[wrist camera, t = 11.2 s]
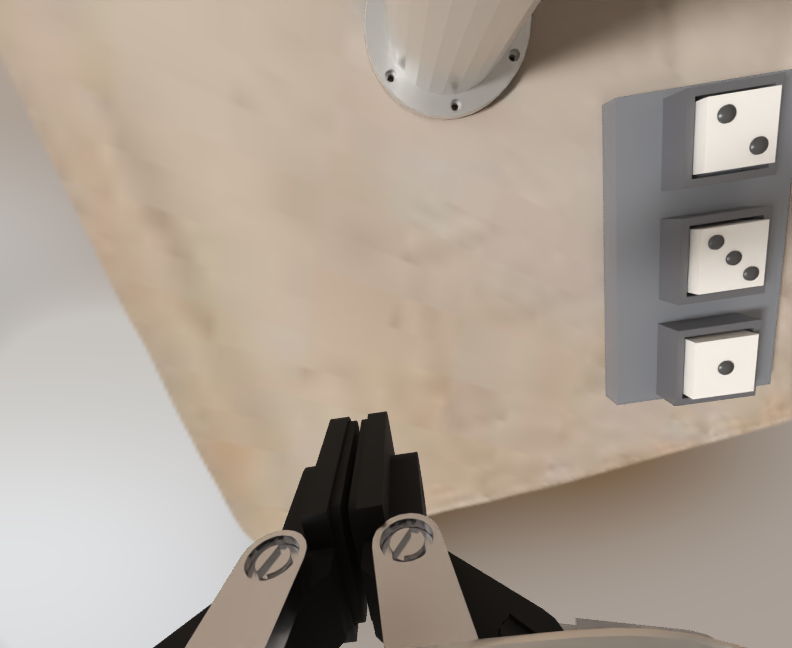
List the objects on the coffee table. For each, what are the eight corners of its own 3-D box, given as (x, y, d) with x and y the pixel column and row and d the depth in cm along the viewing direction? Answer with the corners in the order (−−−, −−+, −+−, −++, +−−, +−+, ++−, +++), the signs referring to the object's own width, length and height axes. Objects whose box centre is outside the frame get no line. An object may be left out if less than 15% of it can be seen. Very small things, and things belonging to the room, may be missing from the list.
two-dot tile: (677, 108, 30) (709, 96, 27) (744, 98, 30) (784, 84, 27) (675, 177, 31) (705, 173, 28) (739, 167, 31) (776, 161, 28)
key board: (602, 105, 32) (635, 87, 27) (778, 76, 31) (839, 53, 27) (605, 395, 38) (632, 418, 34) (750, 375, 38) (797, 395, 34)
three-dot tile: (673, 228, 32) (702, 229, 29) (735, 219, 32) (771, 219, 29) (671, 288, 33) (699, 295, 30) (731, 279, 33) (765, 285, 30)
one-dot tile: (670, 332, 34) (697, 343, 31) (728, 324, 34) (760, 334, 31) (668, 384, 36) (694, 400, 33) (724, 377, 36) (755, 391, 32)
